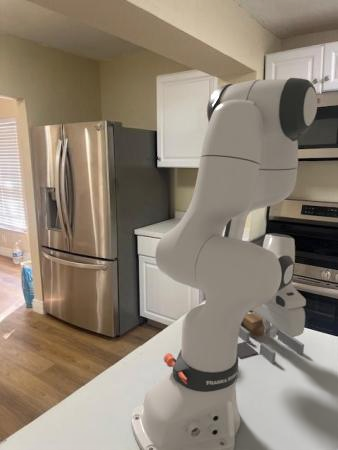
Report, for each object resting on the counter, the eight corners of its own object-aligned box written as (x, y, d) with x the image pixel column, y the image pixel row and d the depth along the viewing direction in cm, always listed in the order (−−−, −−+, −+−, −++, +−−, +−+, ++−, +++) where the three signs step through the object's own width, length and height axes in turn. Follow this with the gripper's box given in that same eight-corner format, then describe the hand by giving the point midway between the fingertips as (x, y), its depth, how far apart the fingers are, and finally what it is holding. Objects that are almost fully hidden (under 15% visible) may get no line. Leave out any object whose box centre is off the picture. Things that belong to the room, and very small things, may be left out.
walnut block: (250, 337, 101) (252, 322, 100) (241, 329, 106) (242, 315, 105) (264, 334, 103) (265, 319, 102) (253, 326, 108) (255, 312, 107)
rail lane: (271, 363, 89) (273, 349, 88) (229, 328, 106) (230, 317, 105) (303, 354, 93) (304, 341, 92) (257, 322, 111) (258, 311, 110)
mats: (240, 358, 91) (240, 357, 91) (220, 340, 100) (220, 339, 100) (301, 341, 100) (301, 340, 100) (278, 326, 108) (278, 325, 108)
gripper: (242, 278, 102) (239, 321, 104) (292, 306, 83) (287, 356, 86) (259, 276, 104) (255, 317, 107) (311, 302, 86) (305, 351, 89)
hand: (270, 335), depth 96 cm, fingers closed
